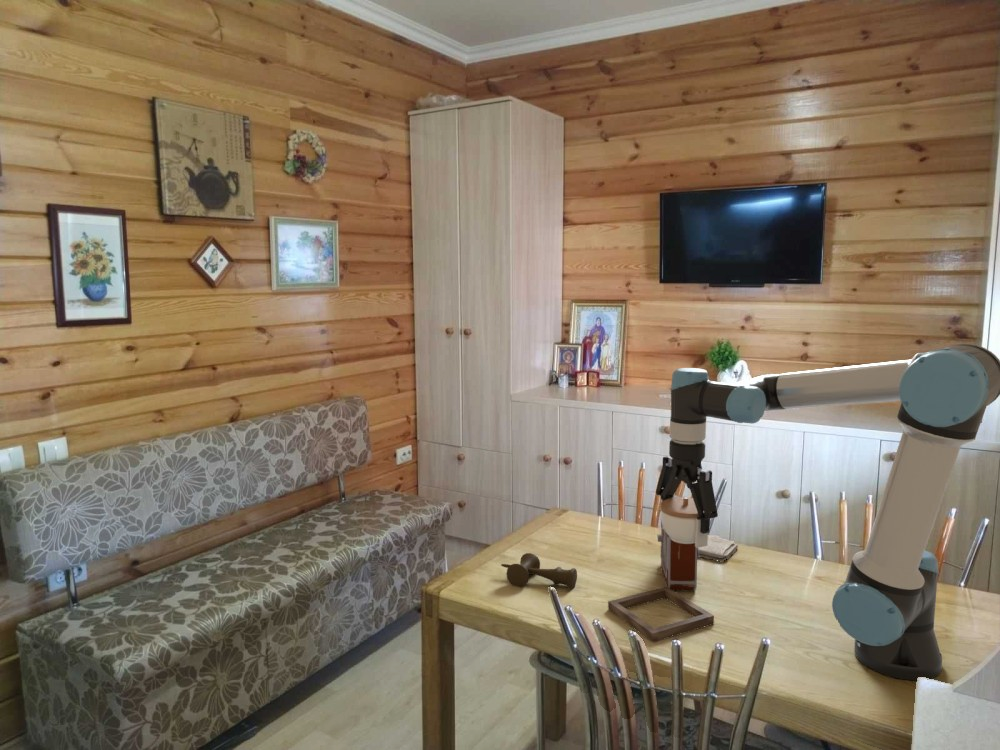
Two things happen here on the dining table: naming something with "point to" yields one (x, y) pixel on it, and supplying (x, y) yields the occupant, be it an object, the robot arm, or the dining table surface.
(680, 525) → the lidded jar
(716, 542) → the washcloth
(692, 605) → the brown wooden tray
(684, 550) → the cine camera
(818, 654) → the dining table surface
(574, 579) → the kendama
